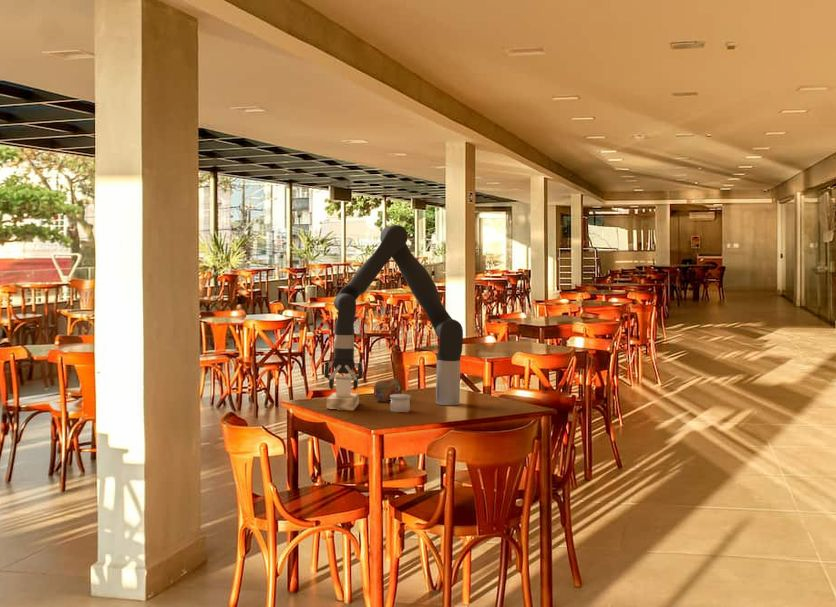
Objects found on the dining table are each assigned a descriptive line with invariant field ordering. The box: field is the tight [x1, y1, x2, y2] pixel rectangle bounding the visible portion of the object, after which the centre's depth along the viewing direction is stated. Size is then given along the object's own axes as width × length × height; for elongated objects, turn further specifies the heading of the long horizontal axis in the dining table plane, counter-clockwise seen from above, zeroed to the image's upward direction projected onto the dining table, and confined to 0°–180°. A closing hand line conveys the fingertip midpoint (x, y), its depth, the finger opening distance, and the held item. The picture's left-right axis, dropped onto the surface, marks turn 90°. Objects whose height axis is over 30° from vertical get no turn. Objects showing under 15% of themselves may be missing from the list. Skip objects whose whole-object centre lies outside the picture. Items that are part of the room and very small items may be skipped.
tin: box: [373, 378, 403, 403], centre depth 371 cm, size 15×3×8 cm, turn 143°
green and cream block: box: [335, 375, 353, 397], centre depth 352 cm, size 5×5×7 cm
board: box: [326, 392, 360, 411], centre depth 353 cm, size 10×16×4 cm, turn 177°
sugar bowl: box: [390, 393, 411, 413], centre depth 345 cm, size 8×8×6 cm
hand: (343, 389), depth 352 cm, fingers open, 8 cm apart
